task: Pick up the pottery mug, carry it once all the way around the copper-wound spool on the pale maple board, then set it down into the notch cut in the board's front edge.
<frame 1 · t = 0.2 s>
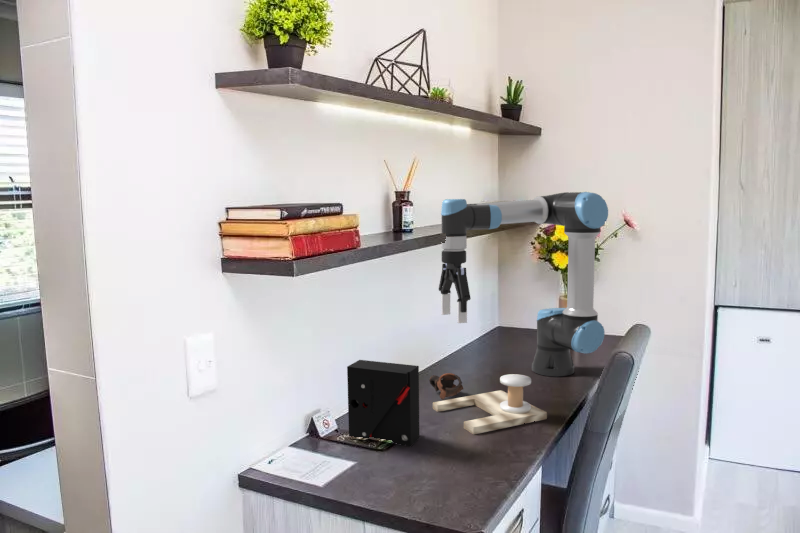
hand: (453, 318, 194), 27 cm above the table, tool pointing down, fingers open, 13 cm apart
spool: (515, 408, 186), resting on notched board
notched board: (486, 414, 187), on the table
pottery mug: (446, 395, 205), on the table
electrical component: (385, 438, 171), on the table
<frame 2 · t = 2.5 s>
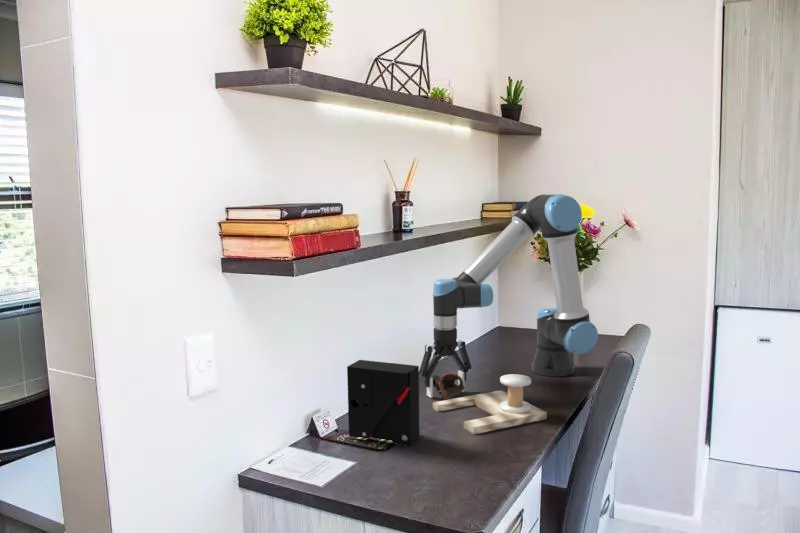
hand: (445, 393, 205), 0 cm above the table, tool pointing down, fingers open, 11 cm apart
pottery mug: (447, 395, 205), on the table, touching gripper
everything else where it was.
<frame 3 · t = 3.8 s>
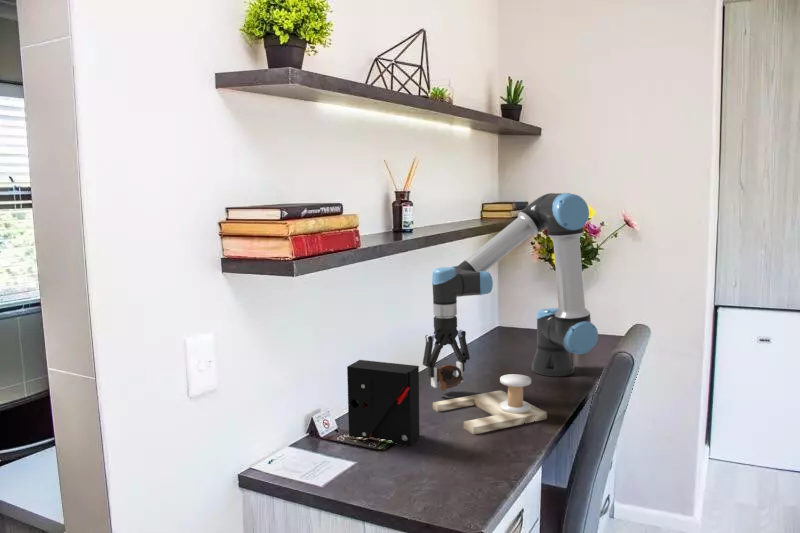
hand: (447, 384, 205), 4 cm above the table, tool pointing down, fingers closed on pottery mug, 9 cm apart
pottery mug: (446, 387, 205), point 3 cm above the table, touching gripper
everything else where it was.
when the fingers open (2 cm above the table, at t = 13.3 s): pottery mug drops 2 cm, on the table.
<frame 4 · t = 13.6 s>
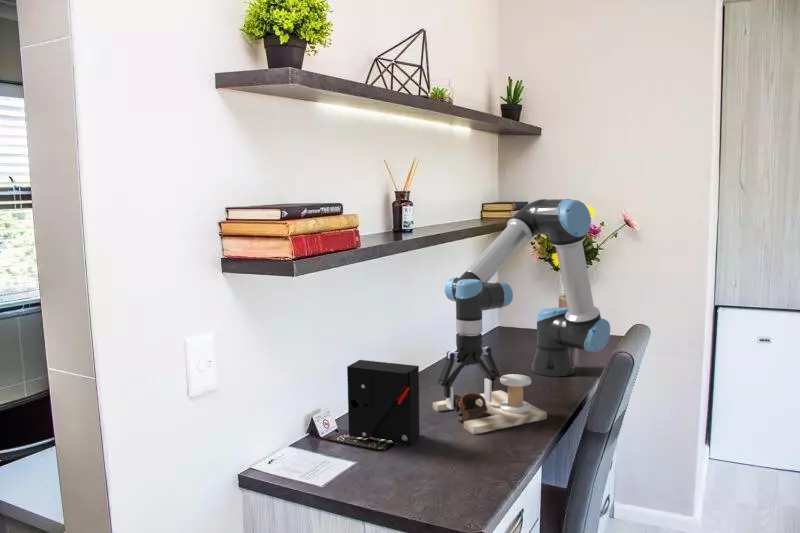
hand: (469, 404, 185), 4 cm above the table, tool pointing down, fingers open, 12 cm apart
pottery mug: (467, 417, 186), on the table
everything else where it was.
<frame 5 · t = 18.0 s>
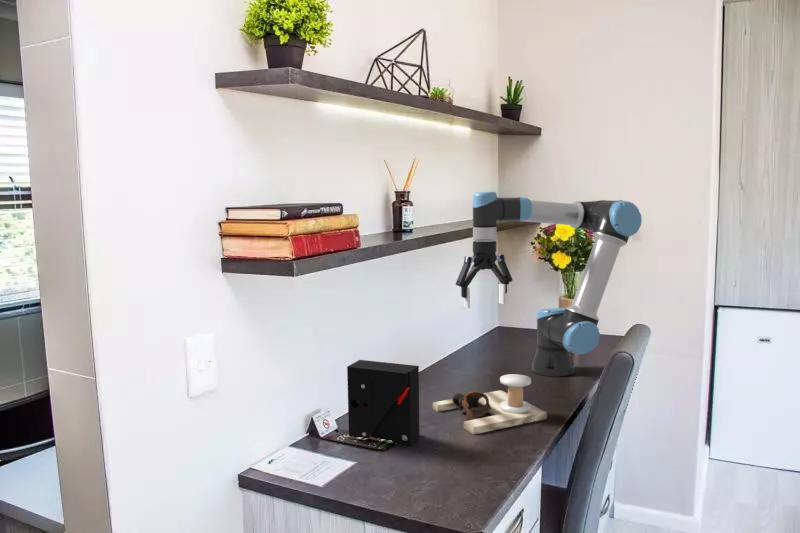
hand: (484, 305, 204), 29 cm above the table, tool pointing down, fingers open, 13 cm apart
pottery mug: (471, 415, 187), on the table
everything else where it was.
at the end: pottery mug inside the target area on the notched board (1.7 cm from its centre), point 0.0 cm above the notched board's base; pottery mug tilted 1°; the gripper is holding nothing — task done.
